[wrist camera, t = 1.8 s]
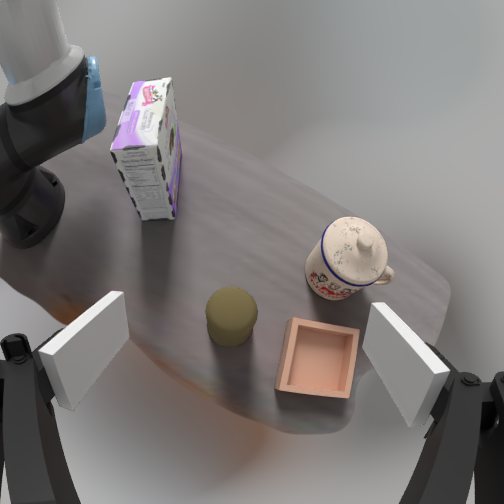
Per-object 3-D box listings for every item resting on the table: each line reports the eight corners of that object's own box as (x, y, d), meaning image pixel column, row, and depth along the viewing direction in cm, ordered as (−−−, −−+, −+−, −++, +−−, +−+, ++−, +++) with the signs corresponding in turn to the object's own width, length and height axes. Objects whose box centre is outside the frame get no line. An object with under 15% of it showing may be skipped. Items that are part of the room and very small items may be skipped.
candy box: (150, 154, 46) (132, 80, 31) (182, 152, 47) (173, 75, 32) (140, 221, 41) (106, 149, 26) (177, 220, 42) (157, 144, 27)
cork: (262, 329, 37) (276, 315, 27) (225, 356, 35) (225, 353, 25) (234, 294, 38) (238, 267, 28) (197, 319, 36) (187, 302, 26)
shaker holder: (274, 387, 34) (279, 390, 31) (287, 321, 38) (293, 317, 34) (338, 396, 34) (348, 398, 31) (348, 332, 38) (359, 329, 34)
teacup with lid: (294, 289, 39) (320, 259, 29) (312, 235, 43) (339, 193, 32) (368, 317, 39) (413, 298, 28) (379, 264, 42) (420, 232, 31)
